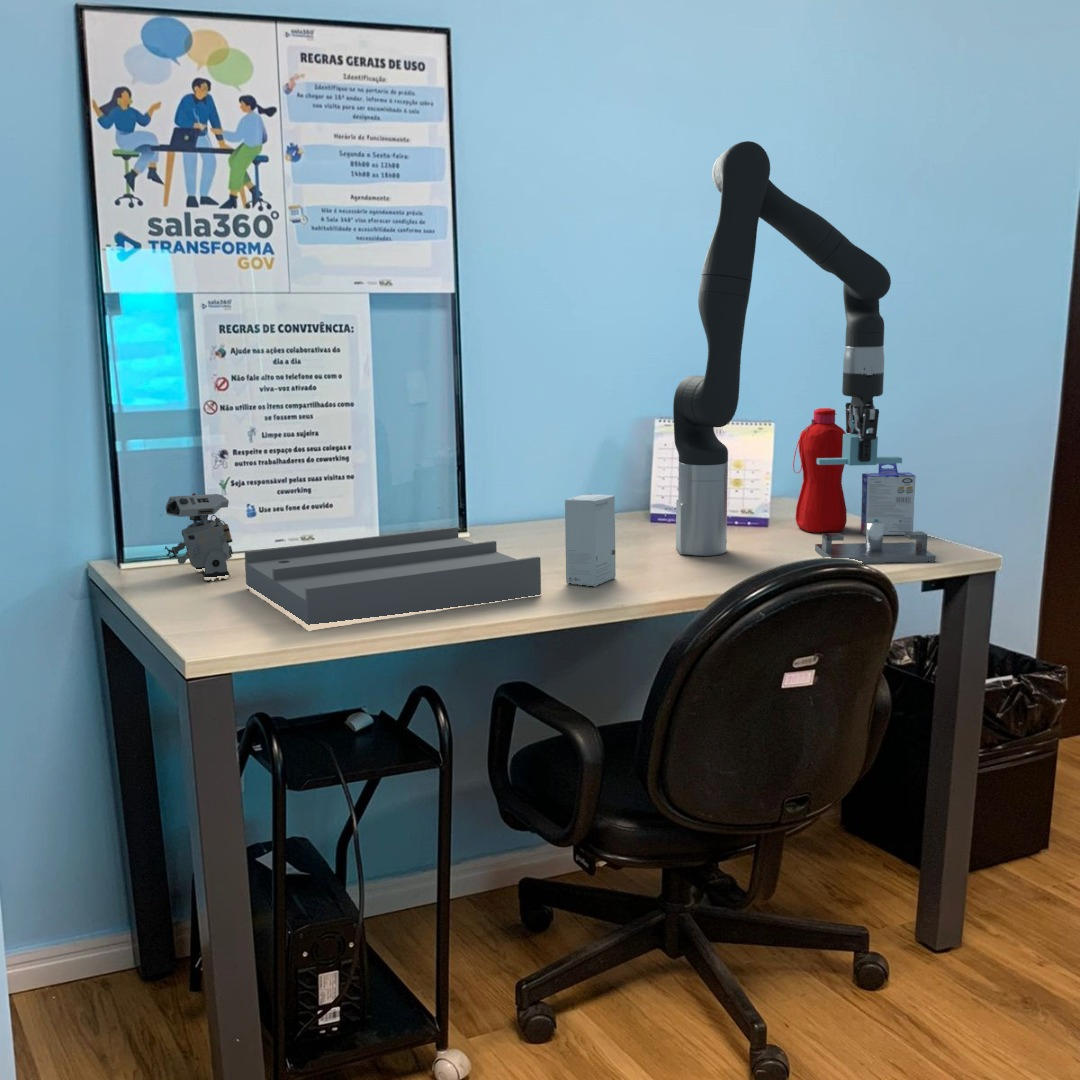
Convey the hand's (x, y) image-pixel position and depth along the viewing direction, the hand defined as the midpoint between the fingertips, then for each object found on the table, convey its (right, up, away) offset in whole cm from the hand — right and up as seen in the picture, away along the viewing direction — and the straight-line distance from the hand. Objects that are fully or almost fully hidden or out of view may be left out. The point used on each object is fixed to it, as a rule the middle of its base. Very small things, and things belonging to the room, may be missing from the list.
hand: (859, 458), depth 237 cm
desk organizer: (-87, -25, -30) cm, 95 cm away
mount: (+1, -19, -7) cm, 20 cm away
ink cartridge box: (+9, -14, +13) cm, 22 cm away
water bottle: (-4, -14, +18) cm, 23 cm away
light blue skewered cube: (0, -1, 0) cm, 1 cm away
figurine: (-122, -22, -17) cm, 125 cm away
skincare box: (-53, -23, -24) cm, 62 cm away
